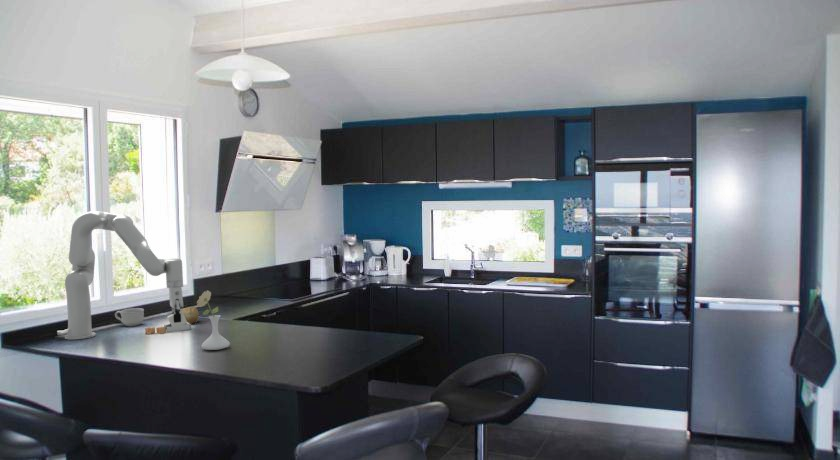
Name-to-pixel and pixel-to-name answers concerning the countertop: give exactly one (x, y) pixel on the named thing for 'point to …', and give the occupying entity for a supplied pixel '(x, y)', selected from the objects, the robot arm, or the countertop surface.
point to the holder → (179, 327)
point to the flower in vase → (215, 339)
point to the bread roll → (190, 314)
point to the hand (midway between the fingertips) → (176, 321)
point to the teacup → (131, 316)
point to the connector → (183, 321)
